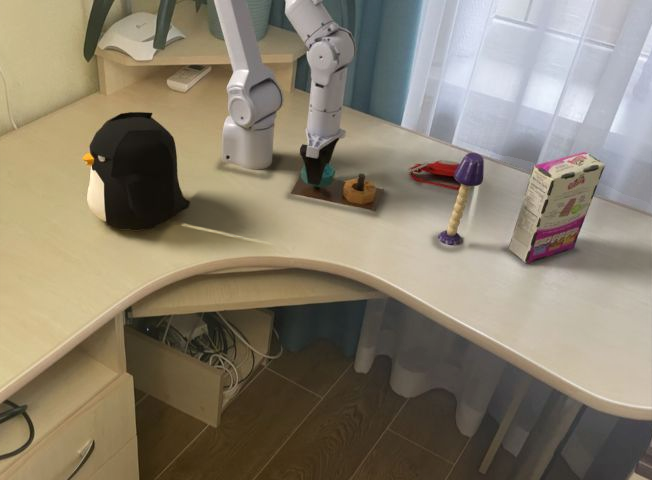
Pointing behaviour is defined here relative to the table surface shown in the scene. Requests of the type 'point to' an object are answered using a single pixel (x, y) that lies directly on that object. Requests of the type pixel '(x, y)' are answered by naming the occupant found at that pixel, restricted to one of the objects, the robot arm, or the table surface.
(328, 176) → the teal ring
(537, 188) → the candy bar box
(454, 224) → the toy lamp
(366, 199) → the ochre ring
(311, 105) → the robot arm
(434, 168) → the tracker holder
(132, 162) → the penguin
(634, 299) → the table surface
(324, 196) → the peg rack
